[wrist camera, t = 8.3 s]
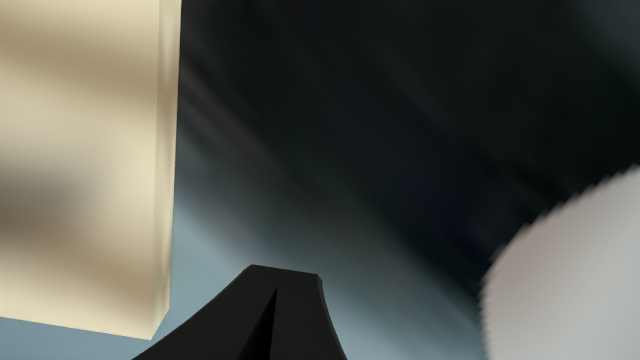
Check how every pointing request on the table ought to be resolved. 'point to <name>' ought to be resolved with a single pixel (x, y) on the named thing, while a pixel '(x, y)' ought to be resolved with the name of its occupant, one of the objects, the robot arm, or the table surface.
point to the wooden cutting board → (88, 161)
